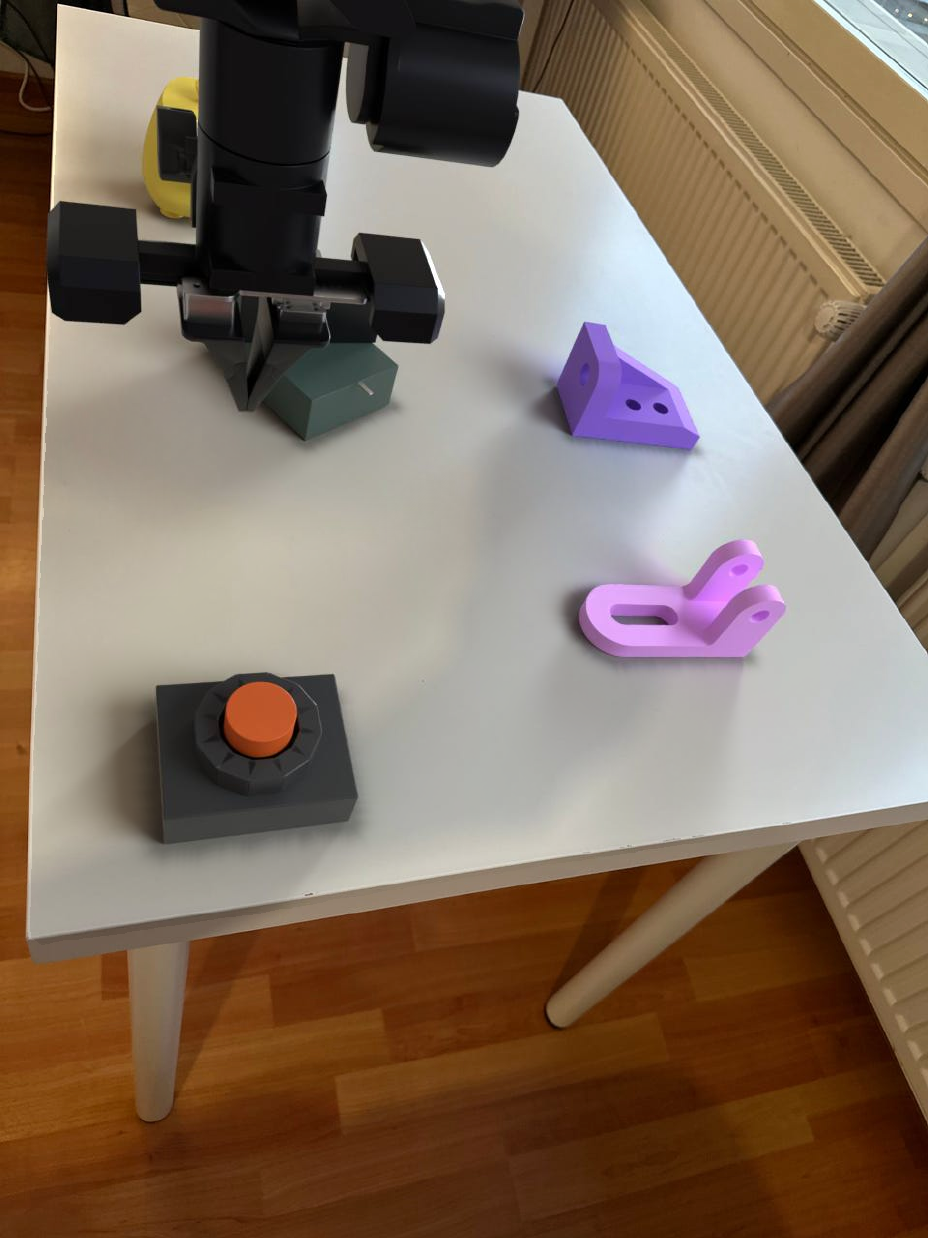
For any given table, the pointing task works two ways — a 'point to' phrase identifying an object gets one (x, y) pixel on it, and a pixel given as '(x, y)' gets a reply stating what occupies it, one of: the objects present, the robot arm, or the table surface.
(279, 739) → the release button
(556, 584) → the table surface
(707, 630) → the bracket
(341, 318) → the black bar
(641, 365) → the bracket
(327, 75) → the robot arm
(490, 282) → the table surface
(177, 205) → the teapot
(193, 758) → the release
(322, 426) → the dark green flat block
